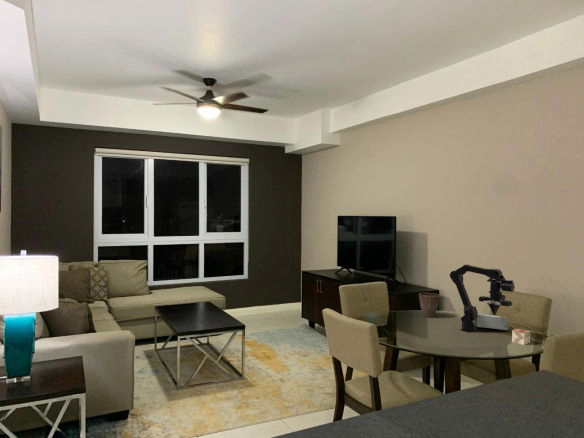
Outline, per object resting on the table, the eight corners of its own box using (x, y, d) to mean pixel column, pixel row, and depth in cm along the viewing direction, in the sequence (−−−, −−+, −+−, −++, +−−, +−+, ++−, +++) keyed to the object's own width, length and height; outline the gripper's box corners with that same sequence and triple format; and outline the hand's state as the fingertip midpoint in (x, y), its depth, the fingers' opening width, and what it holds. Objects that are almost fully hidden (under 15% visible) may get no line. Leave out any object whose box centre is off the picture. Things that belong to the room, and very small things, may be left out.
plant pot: (425, 313, 334) (425, 291, 334) (443, 317, 323) (444, 294, 323) (414, 316, 324) (414, 293, 324) (432, 320, 313) (433, 297, 313)
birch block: (524, 332, 258) (523, 345, 258) (530, 331, 262) (530, 343, 262) (512, 330, 264) (511, 341, 264) (518, 328, 268) (518, 340, 268)
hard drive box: (508, 317, 285) (477, 314, 286) (508, 330, 284) (476, 327, 285) (498, 315, 300) (468, 312, 301) (497, 326, 300) (467, 324, 300)
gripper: (517, 291, 272) (516, 316, 272) (488, 286, 287) (487, 310, 287) (507, 292, 265) (506, 318, 266) (478, 287, 281) (477, 312, 281)
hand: (494, 315), depth 275 cm, fingers closed
